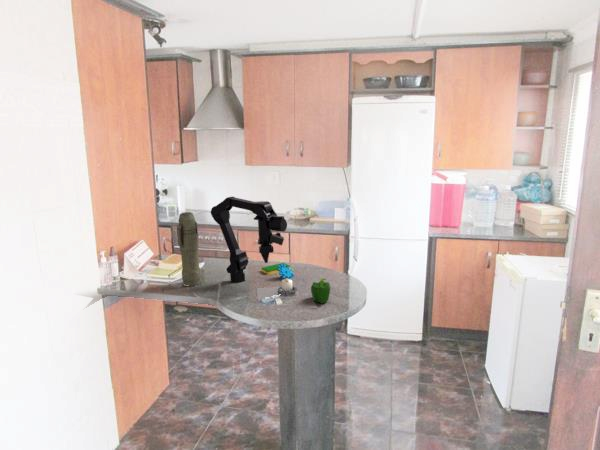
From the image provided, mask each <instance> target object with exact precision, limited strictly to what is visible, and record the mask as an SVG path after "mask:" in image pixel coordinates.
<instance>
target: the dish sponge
mask: <svg viewBox="0 0 600 450" xmlns="http://www.w3.org/2000/svg"><path fill="white" fill-rule="evenodd" d="M280 264H283V265H284V264H285V265H286V266H285V267H286V268H287V267H288V266H289V267H290V268H289V269H290V270H291V265H290V264H287V263H285V262H282V263H277V264H274V265H273V264H272V265H268V266H264V267H261V272H262V273H264V274H265V275H267V276H270V275H273V274H277V273H278V274H279V273H280V272H279V271H278V266H279V265H280Z"/></svg>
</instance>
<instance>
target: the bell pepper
mask: <svg viewBox="0 0 600 450" xmlns="http://www.w3.org/2000/svg"><path fill="white" fill-rule="evenodd" d="M326 279H327V278H326V277H322V278H321V279H320V281H318V282H316V281H315V282H312V284H311V287H310V291H311V295H312V299H313V300H314V302H315V303H319V304H325V303H327V302H328V300H329V299H330V294H331V285H330V282H326V281H325V280H326Z"/></svg>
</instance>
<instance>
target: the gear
mask: <svg viewBox="0 0 600 450" xmlns="http://www.w3.org/2000/svg"><path fill="white" fill-rule="evenodd" d="M279 264H280V263H279ZM285 264H286V263H285ZM285 264H284V265H283V264H280V265H279V266H278V271H279V272H278V274H279V278H282V280H284V279H285V278H287V279H291V280H292V279H293V278H294V277H295V273H294V268H291V266H290V267H289V266H288V267H287V268H286V267H285V266H286V265H285ZM289 268H290V270H289Z"/></svg>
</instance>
